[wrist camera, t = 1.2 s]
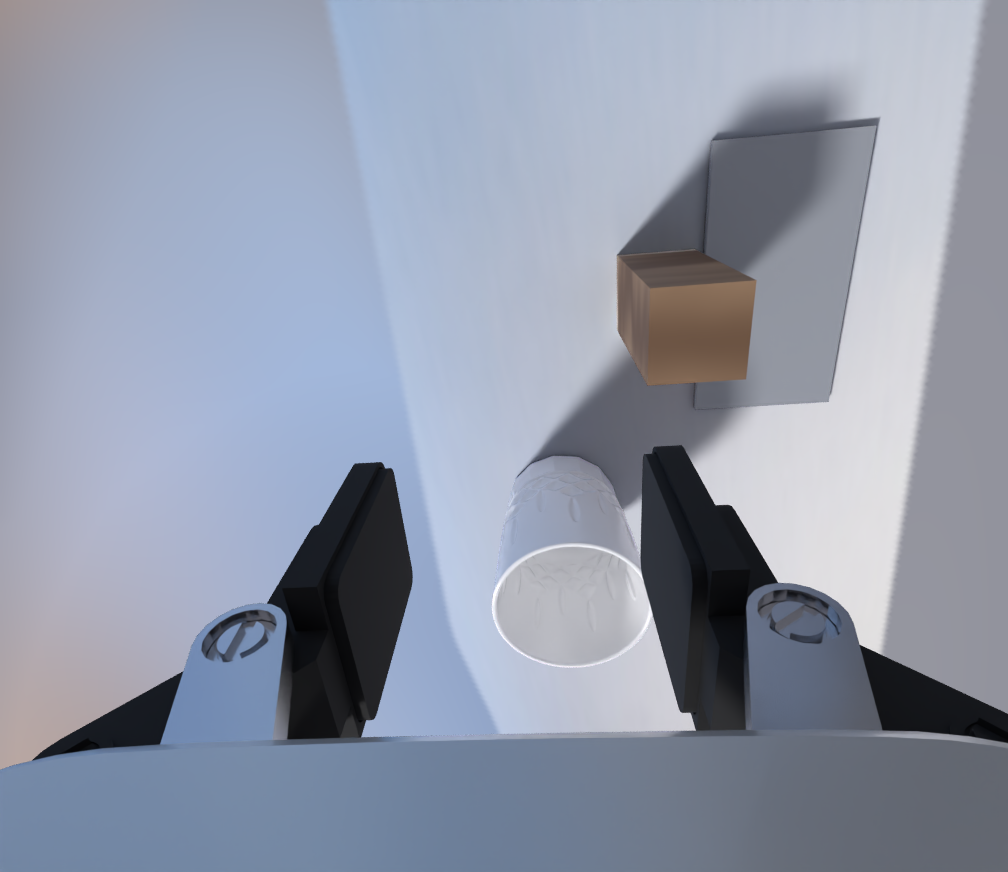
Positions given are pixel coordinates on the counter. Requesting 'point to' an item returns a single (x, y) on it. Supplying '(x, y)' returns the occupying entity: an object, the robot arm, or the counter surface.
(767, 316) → the mat
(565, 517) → the white cup
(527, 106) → the counter surface
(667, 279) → the block
